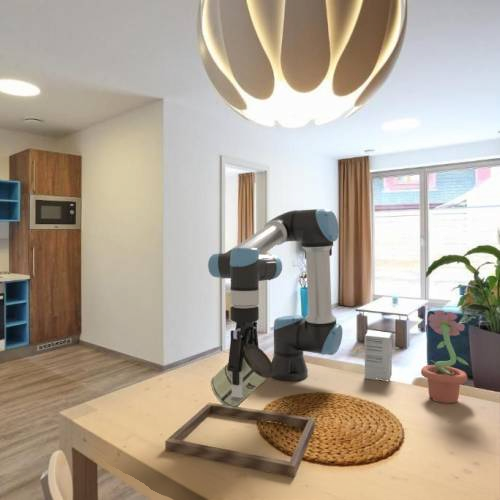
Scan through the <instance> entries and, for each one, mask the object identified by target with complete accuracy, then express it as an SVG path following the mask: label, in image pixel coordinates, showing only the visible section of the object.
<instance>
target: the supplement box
mask: <svg viewBox="0 0 500 500" xmlns="http://www.w3.org/2000/svg"><path fill="white" fill-rule="evenodd" d="M392 351H393V333H392V332H388V331H387V332H385V331H378V330H377V331H376V330H368V331H367V332H366V334H365V335H364V379H367V380H374V381H379V380H381V379H382V381H381V382H386V380H388V381H387V383H389V382H390V381H391V377H392V375H393V372H392V371H393V370H392V369H393V366H392V365H393V362H392V360H393V352H392ZM376 378H377V379H376Z"/></svg>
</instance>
